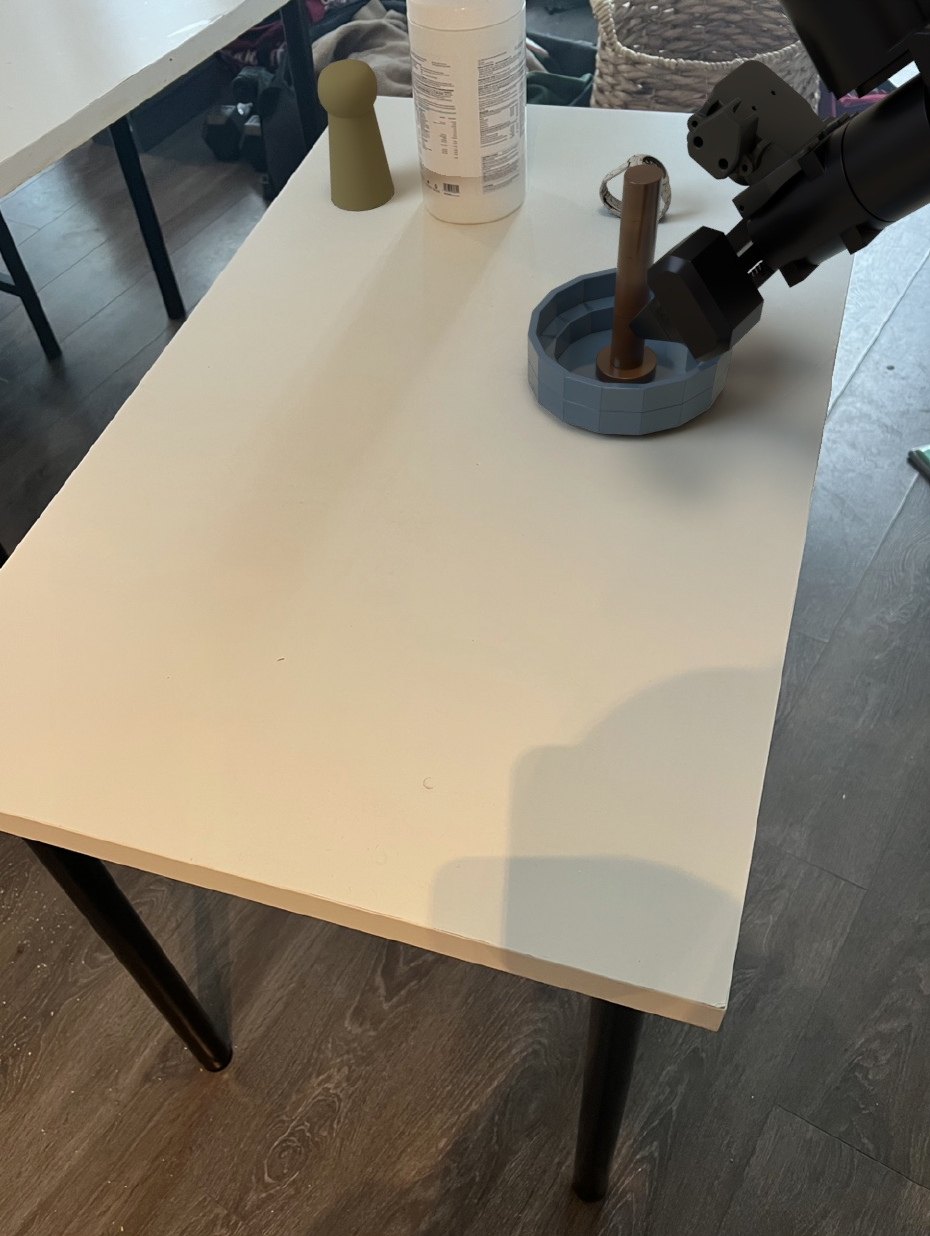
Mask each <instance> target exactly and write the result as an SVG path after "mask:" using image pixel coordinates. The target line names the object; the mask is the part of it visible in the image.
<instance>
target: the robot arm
mask: <svg viewBox="0 0 930 1236" xmlns="http://www.w3.org/2000/svg"><path fill="white" fill-rule="evenodd" d="M777 3H778V4H779V6H780V8H781V9H782V11H783V13H784V15H785V16H786V18H787V20H788V22H789V24H790V26H791V28H792V30H793V31H794V33H795V35H796V37H797V39H798V41H799V43H800V44H801V46H802V48H803V50H804V52H805V54H806V55H807V57H808V59H809V61H810V63H811V65H812V67H813V68H814V70H815V72H816V74H817V76H818V78H819V79H820V82H821V83H822V85H823V87H824V88H825V91H826V93H827V94H831V93H832V95H833V97H834V98H835V100H836V101H837V102H838V101H839V100H840V99H842V98H844V97H845V96H847V95H848V94H850V93H851V92H854V93H855V95H856V97H857V99H858V100H860V99H862V98H863V97H865V96H867V95H868V94H870V93H871V92H873V91H874V90H876V89H877V88H878V87H880V86H881V85H883V84H884V83H885V82H886V81H888V80H890V79H891V78H892V77H894V76H896V74H898V73H899V72H901V71H902V70H904V69H905V68H906V67H907V66H909V65H910V64H912V63H914V65H915V67H916V68H917V70H918V73H916V75H914V76H912V77H911V78H909V79H908V80H907V81H905V82H904V83H902V84H901V85H900V86H898V87H896V88H894V90H892V91H891V92H889V93H887V94H886V95H885V96H883V97H882V98H880V99H879V100H877V101H876V102H874V103H873V104H872V105H870V106H869V107H867V108H865V110H863V111H861V112H859V110H857V111H855V112H854V113H853V114H851V115H850V113H849V111H845V112H844V113H842V114H841V115H840V116H838V117H835V116H832V115H829V116H827V117H826V118H825V119H822V118H821V117H820V116H819V115H818V114H817V113H816V112H815V111H814V109H813V108H812V107H813V106H812V105H811V104H810V103H809V101H808V100H807V99H806V98H805V97H804V96H803V95H801V94H800V93H799V92H798V91H797V90H796V89H794V88H793V87H792V86H791V85H790V84H789V83H788V82H786V80H784V79H783V78H782V77H781V76H779V75H778V74H777V73H776V72H775V71H774V70H772V69H771V68H770V67H769V66H768V65H766V64H765V63H764V62H761V61H759V60H756V59H749V60H746V61H744V62H743V63H741V64H740V65H739V66H737V67H735V69H734V70H732V71H730V73H728V74H727V75H725V76H724V77H723V78H721V79H720V80H719V81H718V82H717V83H716V84H714V86H713V88H712V90H711V92H710V93H709V95H708V97H707V99H706V100H705V102H704V104H703V105H702V107H701V108H699V109H698V110H697V111H695V112H694V113H693V114H692V115H690V116H689V117H688V119H687V121H686V126H687V129H688V132H687V133H686V142H687V143H686V149H687V154H688V156H689V157H690V159H692V160H693V161H694V162H695V163H696V164H697V165H698V166H700V168H702V169H703V170H704V171H706V173H708V174H709V175H710V176H711V177H712V178H713V179H715V180H726V179H728V178H729V179H730V180H731V181H732V182H733V183H735V184H736V185H738V186H742V187H746V188H745V189H743V190H742V191H740V192H739V193H738V194H736V195H735V196H734V197H733V198H732V199H731V202H732V203H733V206H734V207H735V208H736V210H737V212H738V214H739V215H740V217H741V219H740V221H739V222H738V223H736V224H735V225H734V226H733V228H731V229H730V230H729V231H728V232H727V233H725V232H724V231H722V230H719V229H715V228H712V227H709V226H706V225H702V226H700V227H699V228H697V229H695V230H694V231H693V232H691V233H690V234H688V235H687V236H686V237H685V238H683V239H682V240H680V241H679V242H677V244H675V245H674V246H673V247H672V248H670V249H669V250H668V251H666V253H665V254H663V255H662V256H661V257H660V258H659V259H657V260H655V261H654V264H653V265H652V266H651V267H649V268H648V269H647V284H648V286H649V287H650V289H651V291H652V292H653V294H654V295H655V296H654V297H653V298H652V299H651V300H650V301H649V302H648V303H647V304H646V306H645V307H644V308H643V309H642V310H641V311H640V312H639V313H638V314H637V315H636V316H635V317H634V318H633V319H632V321H631V322H630V323H629V328H630V329H631V331H632V333H633V334H634V336H635V337H636V338H638V339H648V340H657V341H667V342H675V343H682V344H685V345H686V346H687V348H688V349H689V351H690V353H691V354H692V356H693V357H694V359H695V360H698V361H701V362H705V363H706V362H708V361H710V360H712V359H714V358H716V357H718V356H720V355H722V354H723V353H725V352H727V351H729V350H730V349H731V348H732V347H733V348H734V346H736V344H738V343H739V342H740V341H741V340H742V339H743V338H744V337H745V336H746V335H747V334H748V333H749V332H750V331H751V330H752V329H753V328H754V327H755V326H756V325H758V323H760V321H761V318H762V313H763V308H764V303H765V298H764V296H763V295H762V293H761V292H760V291H759V289H760V288H761V287H762V286H763V285H765V283H766V282H767V281H768V280H769V279H771V277H772V276H774V274H776V272H778V271H779V272H780V274H781V276H782V278H783V279H784V281H785V282H786V284H787V286H788V287H789V289H791V288H793V287H795V286H796V285H798V284H800V283H802V282H804V281H805V280H806V279H807V278H808V277H809V276H811V274H812V273H813V272H814V271H815V270H816V269H818V268H819V266H821V264H823V263H824V262H826V261H827V260H829V259H832V258H833V257H835V256H837V255H839V254H841V253H842V252H844V251H846V250H847V252H848V254H849V255H850V256H852V255H854V254H855V253H858V252H859V251H861V250H863V249H865V248H866V247H868V246H869V245H870V244H871V243H872V242H873V241H874V240H875V239H876V238H877V237H878V236H879V235H880V234H881V233H882V232H883V231H884V230H885V229H886V228H887V227H890V226H891V225H892V224H893V225H894V224H895V223H897V222H898V221H900V220H901V219H904V218H906V217H907V216H909V215H911V214H913V213H914V212H916V211H918V210H920V209H922V208H924V207H925V206H927V205H929V204H930V0H777ZM733 348H732V349H733Z"/></svg>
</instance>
